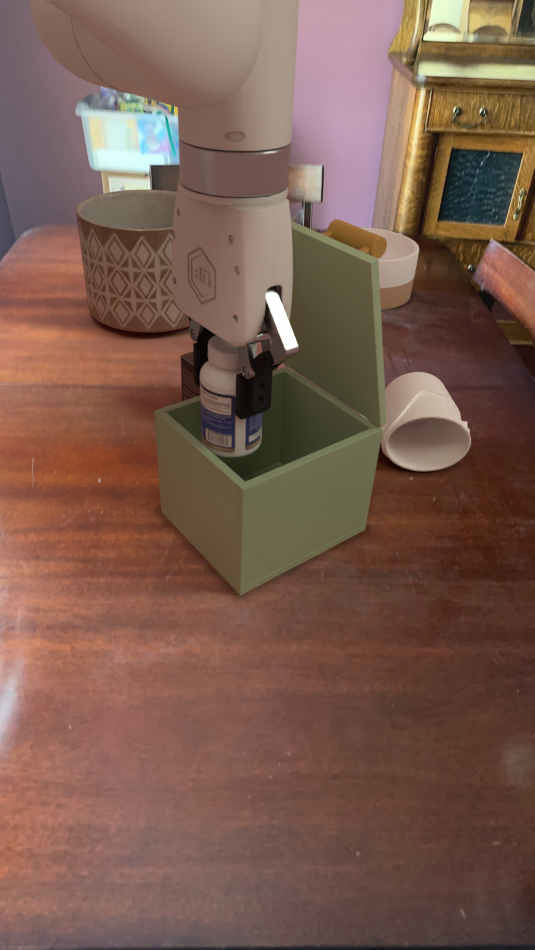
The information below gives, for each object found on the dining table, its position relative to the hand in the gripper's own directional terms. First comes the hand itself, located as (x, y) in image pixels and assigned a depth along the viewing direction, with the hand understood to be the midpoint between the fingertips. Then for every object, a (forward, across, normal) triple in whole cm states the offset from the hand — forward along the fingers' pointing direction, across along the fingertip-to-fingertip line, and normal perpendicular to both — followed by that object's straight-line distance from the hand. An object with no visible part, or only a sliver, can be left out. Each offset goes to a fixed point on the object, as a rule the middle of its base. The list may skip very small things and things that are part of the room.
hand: (231, 395), depth 57 cm
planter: (+16, -49, +19) cm, 55 cm away
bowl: (+16, -39, +55) cm, 70 cm away
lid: (-4, 0, +9) cm, 10 cm away
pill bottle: (+5, 0, 0) cm, 5 cm away
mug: (+16, -1, +26) cm, 31 cm away
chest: (+16, 0, +4) cm, 17 cm away
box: (+16, -21, +12) cm, 29 cm away
